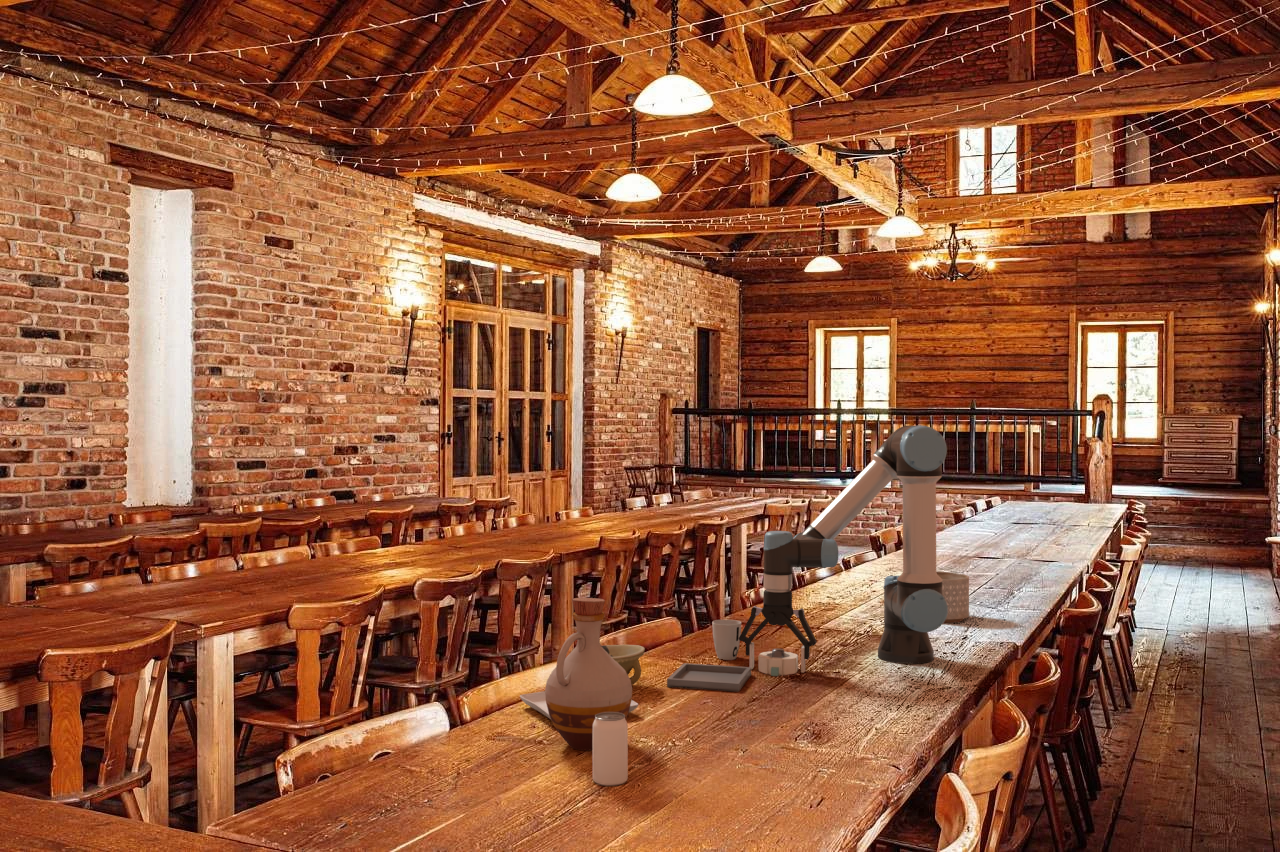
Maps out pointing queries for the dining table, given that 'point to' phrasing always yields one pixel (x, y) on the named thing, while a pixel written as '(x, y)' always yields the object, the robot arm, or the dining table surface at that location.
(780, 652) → the capsule
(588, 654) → the jug
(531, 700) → the salad plate
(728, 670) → the tray
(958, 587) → the planter
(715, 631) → the cup
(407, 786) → the dining table surface
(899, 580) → the robot arm
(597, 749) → the can
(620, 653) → the bowl
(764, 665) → the ring
